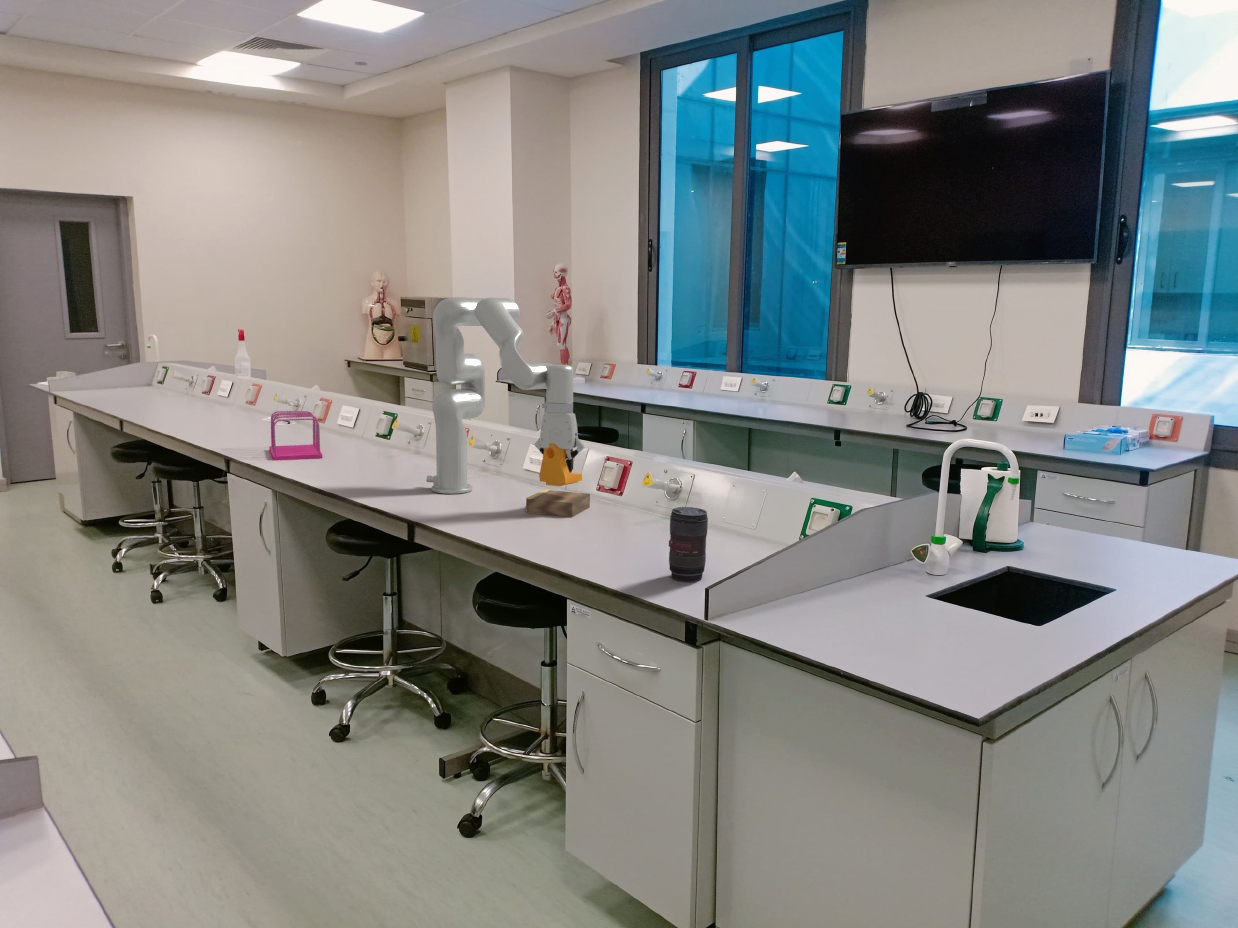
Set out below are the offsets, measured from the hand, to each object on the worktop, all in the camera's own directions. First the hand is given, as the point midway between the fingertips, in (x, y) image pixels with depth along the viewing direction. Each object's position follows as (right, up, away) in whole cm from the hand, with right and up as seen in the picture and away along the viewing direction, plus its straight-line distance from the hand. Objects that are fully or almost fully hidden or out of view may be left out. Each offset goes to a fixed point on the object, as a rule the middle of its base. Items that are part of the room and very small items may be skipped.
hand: (559, 471), depth 258 cm
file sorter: (-107, +5, +87) cm, 138 cm away
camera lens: (+32, -23, -62) cm, 73 cm away
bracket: (+1, -4, +1) cm, 4 cm away
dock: (0, -11, +2) cm, 11 cm away
